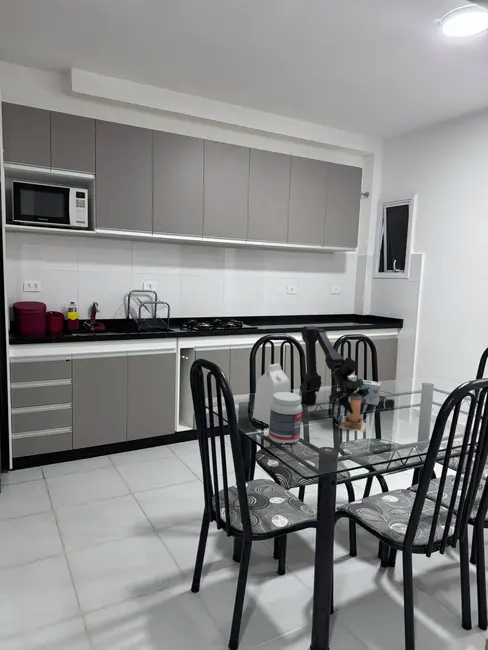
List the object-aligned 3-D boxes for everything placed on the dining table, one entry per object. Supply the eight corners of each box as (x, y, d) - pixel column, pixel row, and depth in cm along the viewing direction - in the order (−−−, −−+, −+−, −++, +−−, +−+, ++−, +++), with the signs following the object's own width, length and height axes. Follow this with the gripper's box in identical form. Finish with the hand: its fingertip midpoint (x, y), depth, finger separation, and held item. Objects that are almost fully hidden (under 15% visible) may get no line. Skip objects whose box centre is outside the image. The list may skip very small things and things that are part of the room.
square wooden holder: (338, 431, 200) (339, 422, 199) (341, 422, 210) (342, 414, 209) (364, 435, 196) (365, 426, 196) (365, 426, 207) (366, 417, 206)
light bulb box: (356, 402, 240) (358, 382, 239) (358, 398, 247) (360, 379, 245) (377, 405, 236) (379, 385, 235) (379, 401, 243) (381, 382, 241)
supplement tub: (302, 446, 182) (306, 401, 179) (270, 445, 181) (273, 400, 178) (296, 433, 195) (299, 391, 192) (266, 432, 194) (269, 390, 191)
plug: (346, 426, 201) (349, 396, 199) (347, 422, 206) (350, 393, 204) (358, 428, 200) (361, 398, 198) (359, 424, 205) (362, 395, 202)
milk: (270, 413, 216) (274, 360, 212) (289, 421, 208) (293, 365, 204) (252, 419, 208) (255, 363, 203) (271, 427, 200) (275, 369, 195)
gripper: (335, 373, 198) (349, 406, 191) (368, 371, 207) (383, 402, 199) (323, 386, 207) (335, 417, 199) (355, 382, 215) (369, 413, 207)
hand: (356, 412), depth 201 cm, fingers closed on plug, 4 cm apart
